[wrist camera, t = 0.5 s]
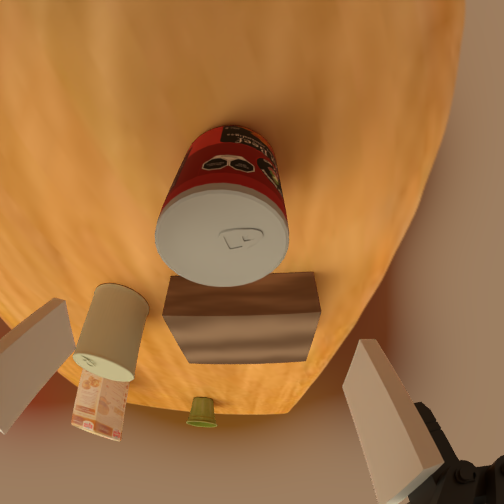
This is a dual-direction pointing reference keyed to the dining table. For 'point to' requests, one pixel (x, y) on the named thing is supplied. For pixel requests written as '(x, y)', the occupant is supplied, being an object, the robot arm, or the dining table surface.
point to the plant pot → (202, 413)
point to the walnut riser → (244, 319)
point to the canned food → (224, 211)
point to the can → (112, 333)
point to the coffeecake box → (100, 405)
